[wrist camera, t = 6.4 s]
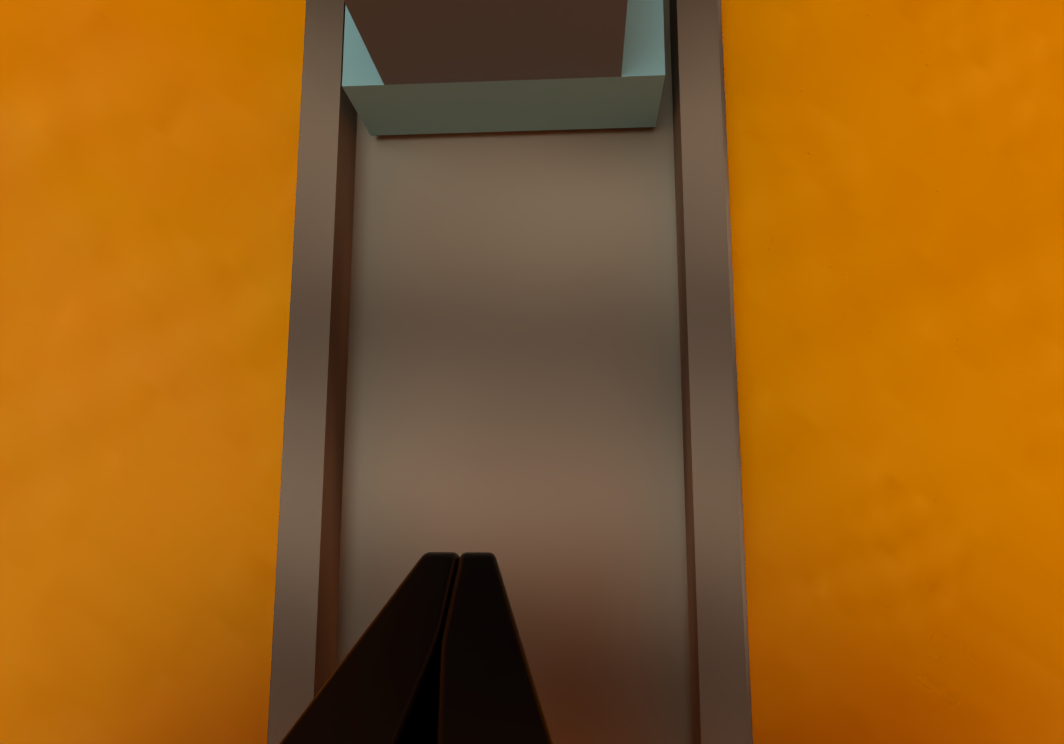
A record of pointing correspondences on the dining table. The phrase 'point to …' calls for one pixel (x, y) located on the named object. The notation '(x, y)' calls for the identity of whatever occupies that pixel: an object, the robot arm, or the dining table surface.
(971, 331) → the dining table surface
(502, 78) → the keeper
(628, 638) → the rail
